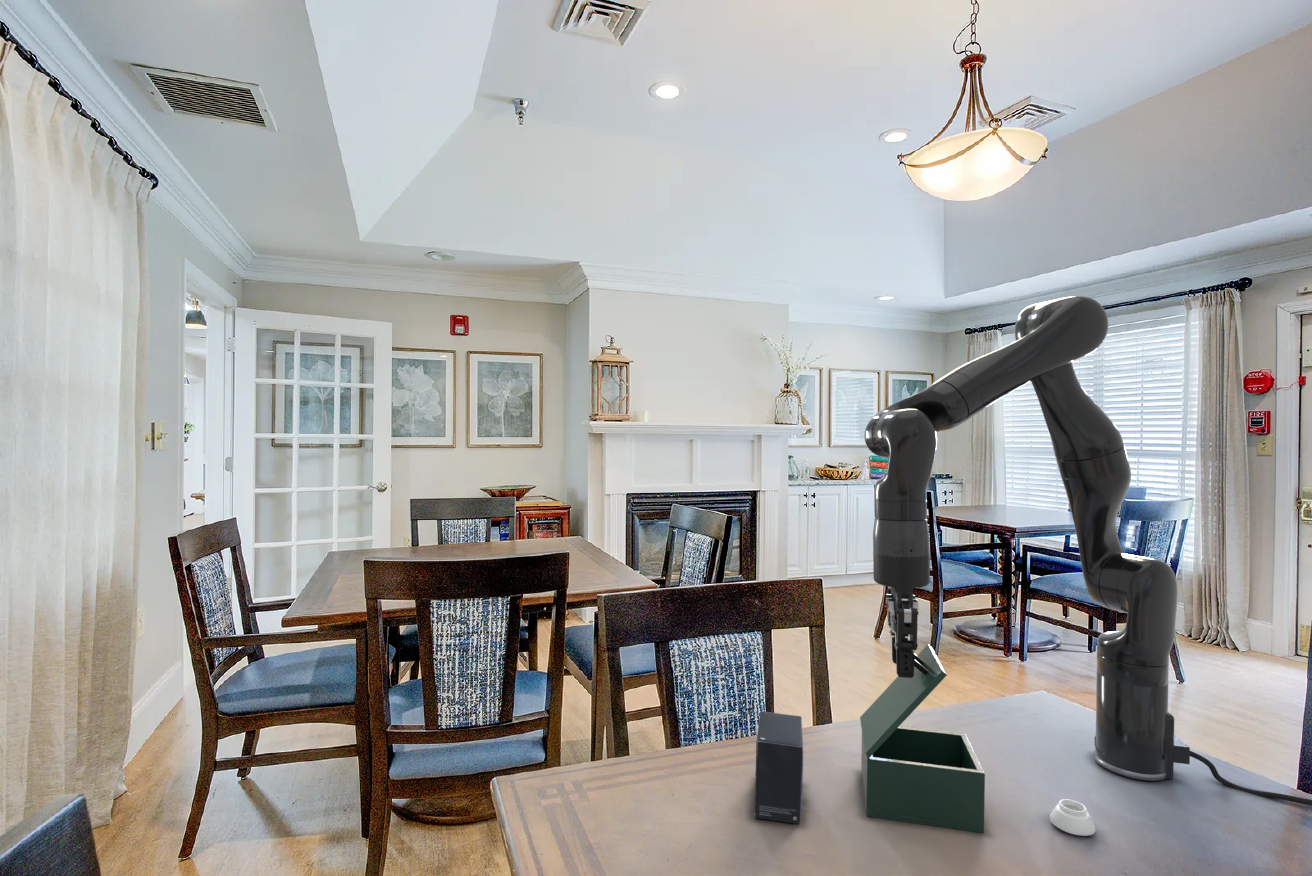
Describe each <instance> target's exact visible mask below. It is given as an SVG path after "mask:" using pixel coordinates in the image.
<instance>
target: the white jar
mask: <svg viewBox="0 0 1312 876" xmlns="http://www.w3.org/2000/svg"><path fill="white" fill-rule="evenodd" d="M1090 815H1091V814H1090V813H1089V812H1088V809H1087V807H1086V806H1085V805H1084V804H1083V803H1082V802H1079V801H1076V800H1074V799H1068V798H1062V799H1060V800H1059V802H1058V804H1056V806H1054V808H1053V810H1052V811H1051V813H1050V815H1049V820H1050V822H1051V823H1052V824H1053V826H1055V827H1056V828H1058V829H1060V831H1063V832H1065V833H1068V834H1070V835H1073V836H1078V837H1079V836H1081V837H1088V836H1093V835H1094V834H1095V833H1096V826H1095V823H1094V821H1093V819H1092V817H1091V816H1090Z"/></svg>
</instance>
